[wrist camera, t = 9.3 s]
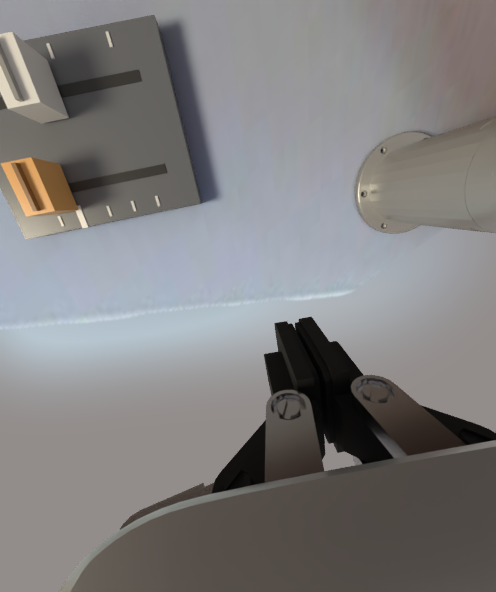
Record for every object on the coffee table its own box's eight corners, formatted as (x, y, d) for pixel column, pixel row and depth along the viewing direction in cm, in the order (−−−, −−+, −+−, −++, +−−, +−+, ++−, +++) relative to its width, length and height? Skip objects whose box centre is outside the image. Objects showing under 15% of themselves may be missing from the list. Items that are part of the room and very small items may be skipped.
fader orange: (59, 164, 29) (26, 156, 24) (78, 209, 30) (51, 211, 26) (33, 169, 29) (-5, 162, 24) (53, 215, 30) (21, 217, 26)
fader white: (47, 60, 26) (6, 27, 21) (69, 118, 27) (35, 99, 23) (17, 66, 26) (-30, 34, 21) (41, 123, 27) (2, 106, 23)
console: (159, 30, 28) (153, 13, 25) (202, 203, 34) (200, 203, 32) (-41, 70, 27) (-66, 57, 25) (39, 237, 34) (25, 240, 31)
